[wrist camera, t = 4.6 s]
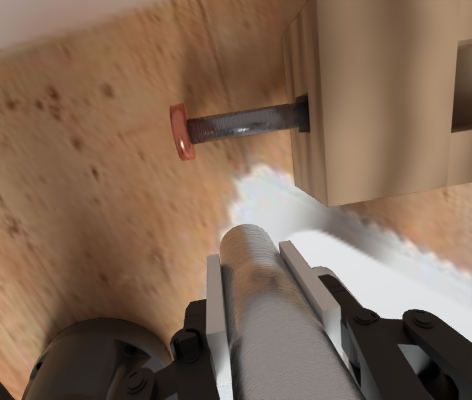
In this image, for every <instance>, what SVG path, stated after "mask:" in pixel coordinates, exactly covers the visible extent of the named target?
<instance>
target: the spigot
mask: <svg viewBox="0 0 472 400" xmlns="http://www.w3.org/2000/svg"><path fill="white" fill-rule="evenodd" d="M220 260H221V269H222V279H223V290H224V301H225V311H226V322H227V333H228V343H229V358H230V368H231V379H232V390H233V400H366V398H365V397H364V395H363V393H362V392H361V390H360V388H359V387H358V385H357V383H356V381H355V380H354V378H353V376H352V375H351V373H350V371H349V370H348V368H347V366H346V365H345V363H344V361H343V360H342V358H341V356H340V355H339V353H338V351H337V350H336V348H335V346H334V344H333V343H332V341H331V339H330V338H329V336H328V334H327V333H326V331H325V329H324V328H323V326H322V324H321V323H320V321H319V319H318V318H317V316H316V314H315V313H314V311H313V309H312V307H311V306H310V304H309V302H308V301H307V299H306V297H305V296H304V294H303V292H302V291H301V289H300V287H299V286H298V284H297V282H296V281H295V279H294V277H293V276H292V274H291V272H290V270H289V269H288V267H287V265H286V264H285V262H284V260H283V259H282V257H281V255H280V254H279V252H278V250H277V249H276V247H275V245H274V244H273V242H272V240H271V239H270V237H269V235H268V234H267V233H266V231H265V230H263V229H262V228H260V227H258V226H256V225H252V224H243V225H239V226H236V227H234V228H232V229H231V230H229V231H228V232H227V233H226V234H225V236H224V237H223V239H222V241H221V244H220Z"/></svg>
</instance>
